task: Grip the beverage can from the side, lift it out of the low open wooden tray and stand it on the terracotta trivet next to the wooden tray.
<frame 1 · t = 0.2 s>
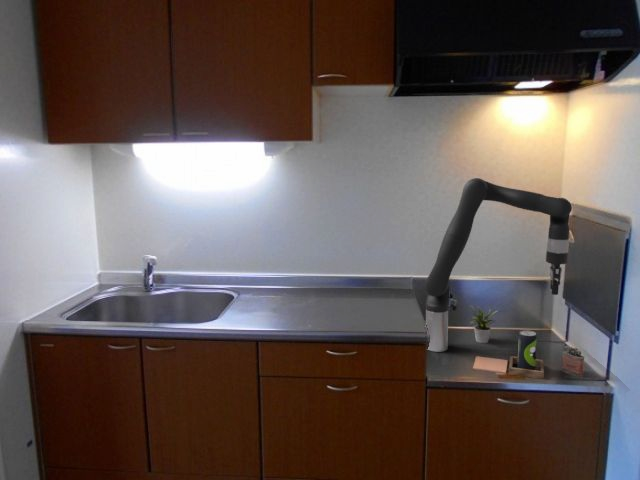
hand: (553, 291, 192), 29 cm above the worktop, tool pointing down, fingers open, 8 cm apart
beverage can: (526, 370, 190), resting in wooden tray
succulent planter: (572, 373, 187), on the worktop
house plant: (478, 340, 222), on the worktop
trivet: (490, 365, 196), on the worktop
wooden tray: (526, 370, 190), on the worktop
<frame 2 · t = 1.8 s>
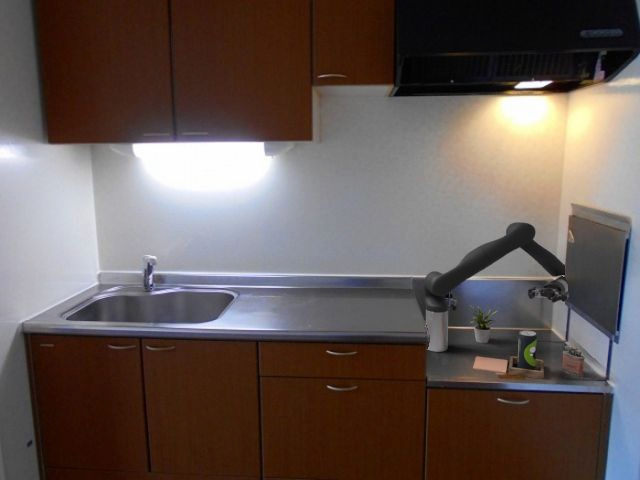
hand: (541, 298, 194), 26 cm above the worktop, tool horizontal, fingers open, 8 cm apart
nothing on the worktop moved.
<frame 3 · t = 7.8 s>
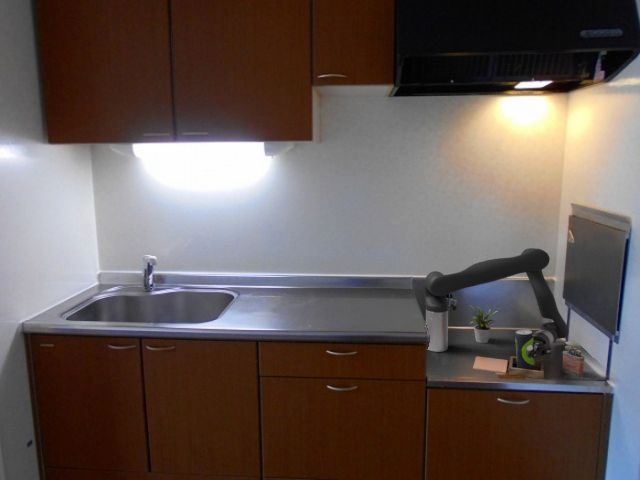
hand: (524, 354, 186), 8 cm above the worktop, tool horizontal, fingers closed
beverage can: (525, 370, 190), resting in wooden tray, touching gripper
everything else where it was.
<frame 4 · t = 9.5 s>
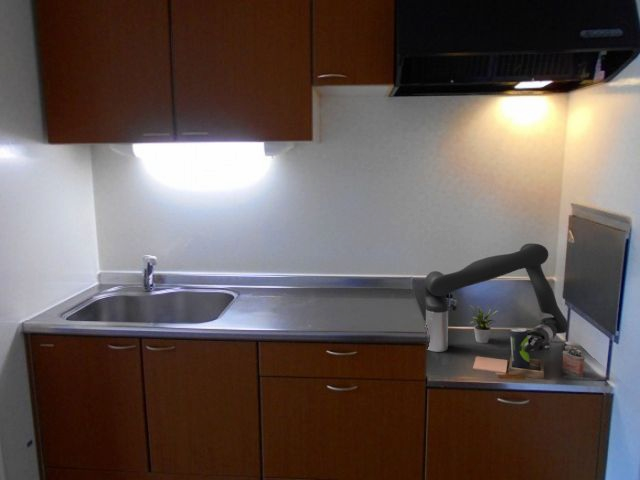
hand: (523, 349, 186), 10 cm above the worktop, tool horizontal, fingers closed on beverage can
beverage can: (521, 368, 190), point 1 cm above the worktop, touching gripper
everything else where it was.
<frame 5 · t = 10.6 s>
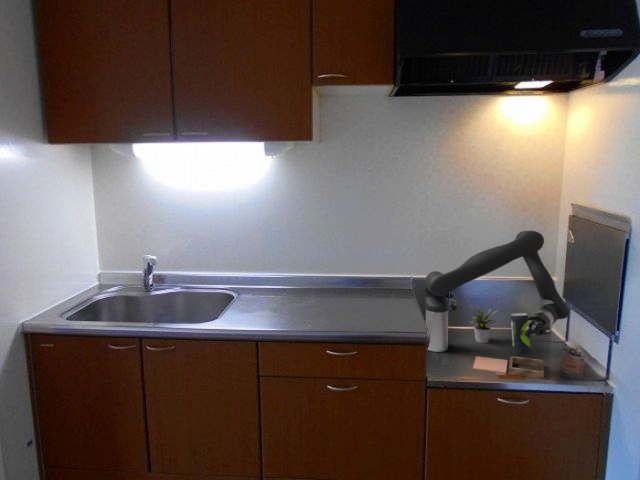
hand: (523, 333, 185), 16 cm above the worktop, tool horizontal, fingers closed on beverage can
beverage can: (522, 354, 189), point 7 cm above the worktop, touching gripper
everything else where it was.
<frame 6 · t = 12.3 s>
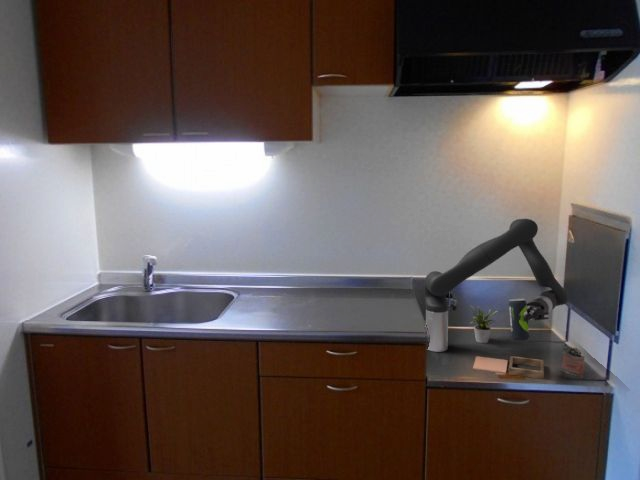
hand: (522, 318, 184), 22 cm above the worktop, tool horizontal, fingers closed on beverage can
beverage can: (520, 339, 188), point 13 cm above the worktop, touching gripper
everything else where it was.
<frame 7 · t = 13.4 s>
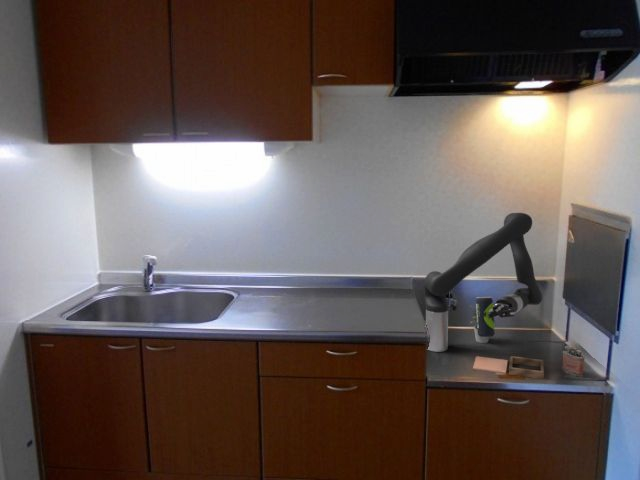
hand: (486, 315, 189), 22 cm above the worktop, tool horizontal, fingers closed on beverage can
beverage can: (486, 336, 192), point 12 cm above the worktop, touching gripper
everything else where it was.
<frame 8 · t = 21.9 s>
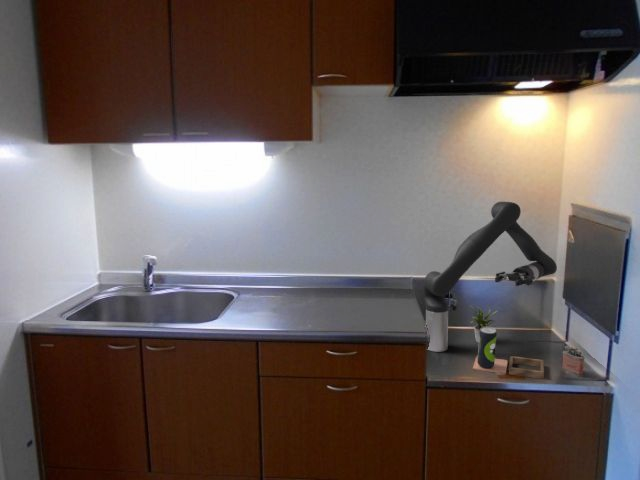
hand: (506, 281, 197), 32 cm above the worktop, tool horizontal, fingers open, 8 cm apart
beverage can: (485, 365, 194), point 1 cm above the worktop, touching trivet
everything else where it was.
at the end: beverage can inside the target area on the trivet (2.9 cm from its centre), point 0.9 cm above the trivet's base; beverage can tilted 8°; the gripper is holding nothing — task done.
